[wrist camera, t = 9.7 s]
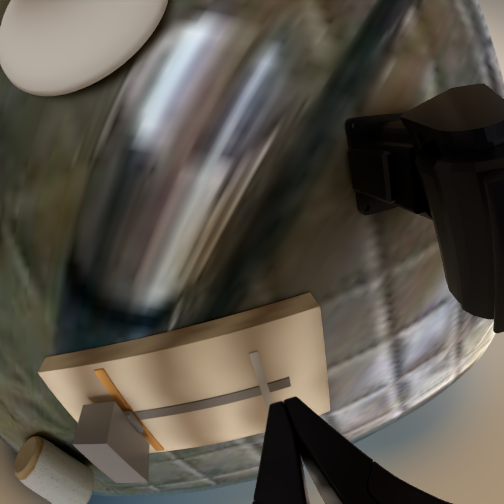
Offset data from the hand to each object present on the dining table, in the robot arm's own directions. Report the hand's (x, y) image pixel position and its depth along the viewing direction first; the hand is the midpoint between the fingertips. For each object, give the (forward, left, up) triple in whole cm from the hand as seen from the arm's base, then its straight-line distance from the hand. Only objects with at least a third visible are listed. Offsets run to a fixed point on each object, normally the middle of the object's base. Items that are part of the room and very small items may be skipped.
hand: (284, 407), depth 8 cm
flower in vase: (+6, -19, -12) cm, 23 cm away
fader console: (+6, +10, -12) cm, 17 cm away
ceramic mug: (+28, +19, -12) cm, 36 cm away
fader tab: (+13, +10, -10) cm, 19 cm away
